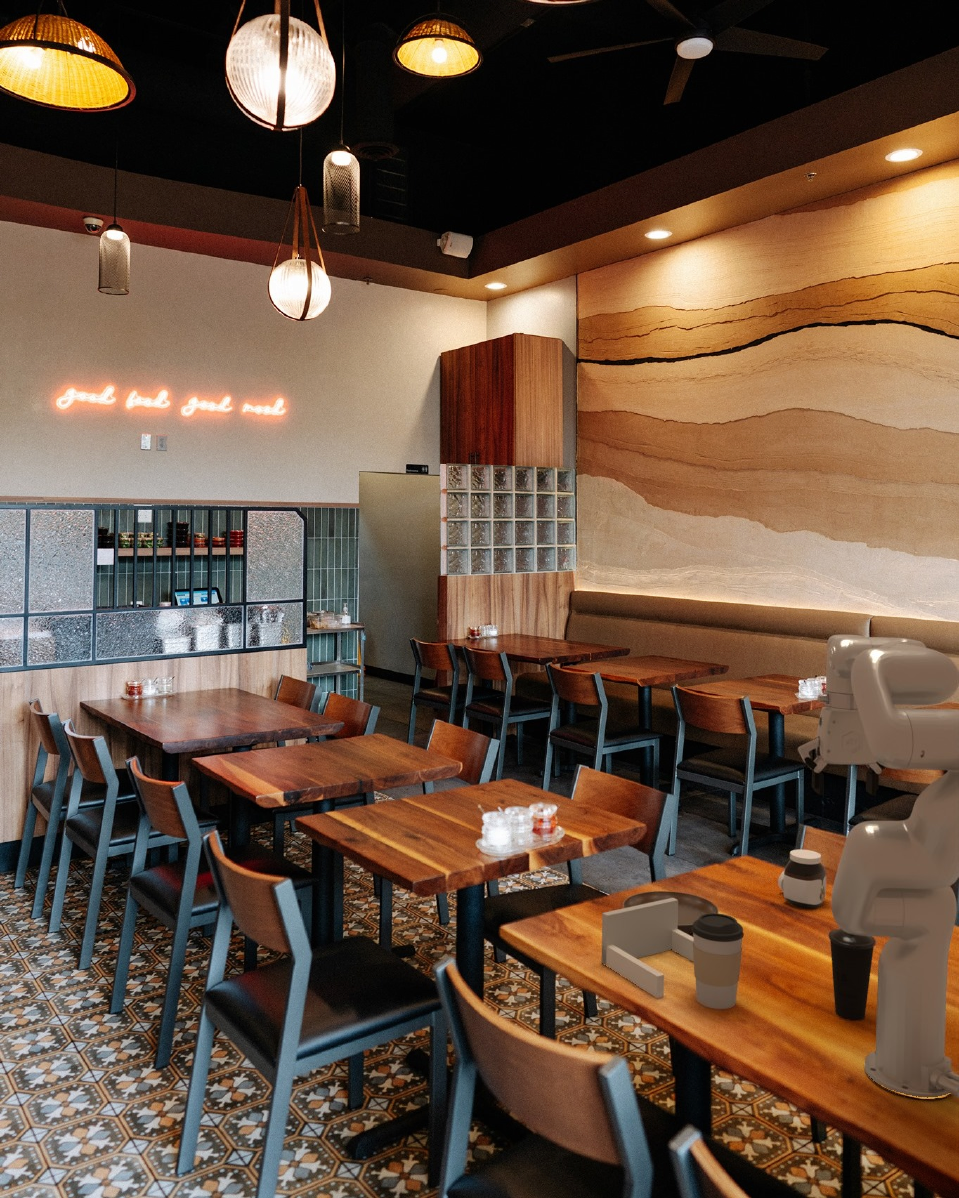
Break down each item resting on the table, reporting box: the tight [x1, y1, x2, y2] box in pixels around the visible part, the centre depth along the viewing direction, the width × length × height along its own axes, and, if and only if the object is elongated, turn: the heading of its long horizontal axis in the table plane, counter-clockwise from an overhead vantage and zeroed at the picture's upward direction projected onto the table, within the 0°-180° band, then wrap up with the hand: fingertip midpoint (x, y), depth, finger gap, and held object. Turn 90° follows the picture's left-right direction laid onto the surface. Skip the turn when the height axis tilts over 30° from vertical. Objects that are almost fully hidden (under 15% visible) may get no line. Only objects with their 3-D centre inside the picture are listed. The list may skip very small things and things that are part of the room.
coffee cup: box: [692, 912, 745, 1010], centre depth 167 cm, size 9×9×15 cm
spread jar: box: [777, 849, 827, 910], centre depth 217 cm, size 12×11×12 cm
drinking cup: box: [828, 927, 877, 1022], centre depth 162 cm, size 8×8×20 cm
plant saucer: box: [622, 890, 720, 935], centre depth 205 cm, size 21×21×3 cm
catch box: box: [601, 898, 694, 999], centre depth 179 cm, size 16×18×10 cm
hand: (844, 793), depth 173 cm, fingers open, 9 cm apart
